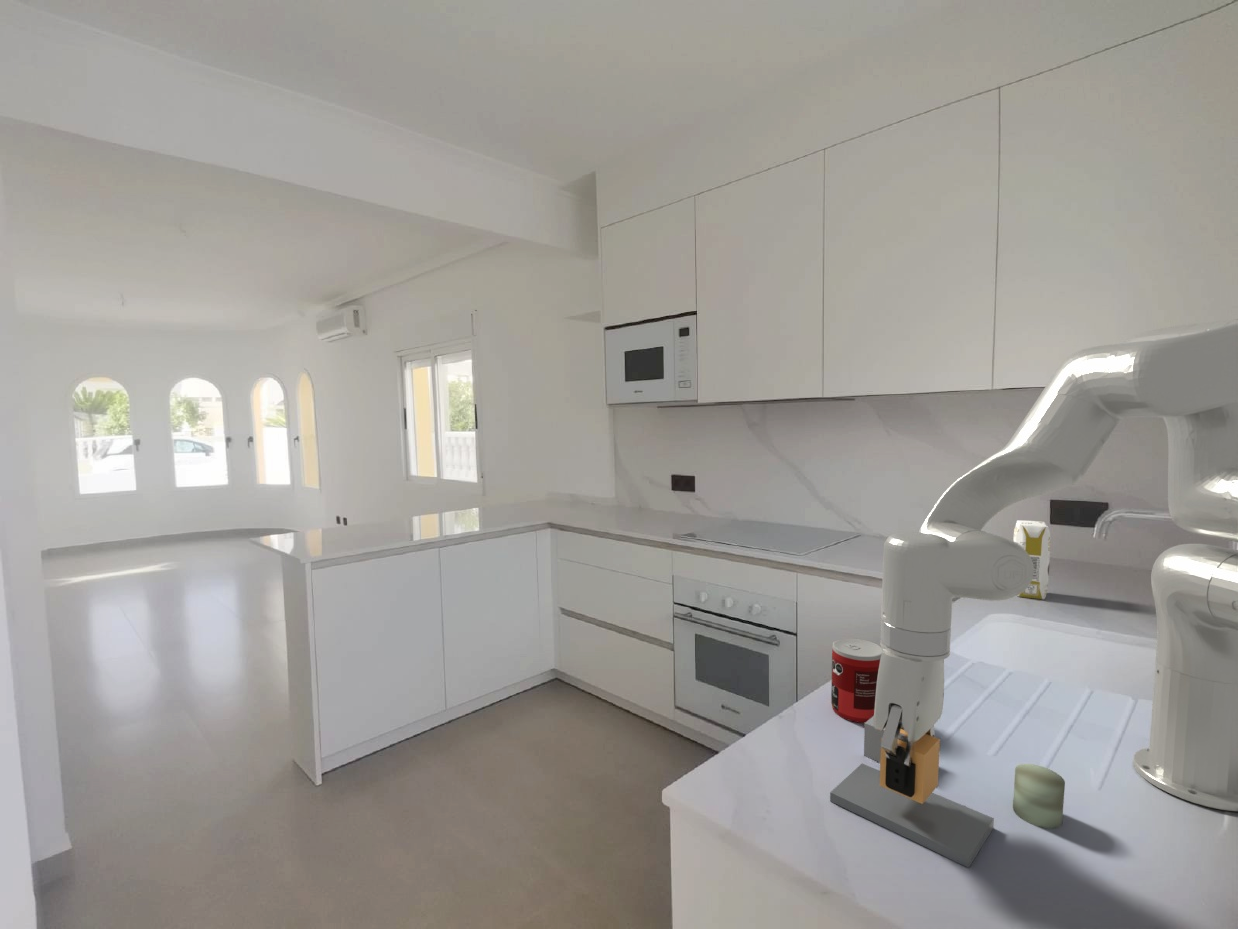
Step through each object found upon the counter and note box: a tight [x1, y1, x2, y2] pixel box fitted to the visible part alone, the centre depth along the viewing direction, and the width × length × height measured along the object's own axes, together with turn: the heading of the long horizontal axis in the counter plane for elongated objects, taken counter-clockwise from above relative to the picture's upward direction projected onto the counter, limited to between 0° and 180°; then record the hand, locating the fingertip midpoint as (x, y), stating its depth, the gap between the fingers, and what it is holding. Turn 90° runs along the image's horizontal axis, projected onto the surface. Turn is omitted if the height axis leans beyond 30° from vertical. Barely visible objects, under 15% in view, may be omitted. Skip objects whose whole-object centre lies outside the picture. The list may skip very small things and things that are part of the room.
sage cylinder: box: [1012, 763, 1066, 829], centre depth 75 cm, size 5×5×5 cm
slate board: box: [829, 763, 995, 869], centre depth 76 cm, size 9×16×1 cm, turn 44°
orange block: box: [879, 729, 941, 804], centre depth 75 cm, size 5×5×6 cm
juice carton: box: [1012, 519, 1052, 600], centre depth 160 cm, size 8×9×19 cm
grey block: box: [863, 716, 886, 763], centre depth 88 cm, size 5×5×5 cm
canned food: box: [830, 638, 884, 724], centre depth 100 cm, size 8×8×11 cm
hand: (909, 779), depth 75 cm, fingers closed on orange block, 5 cm apart
